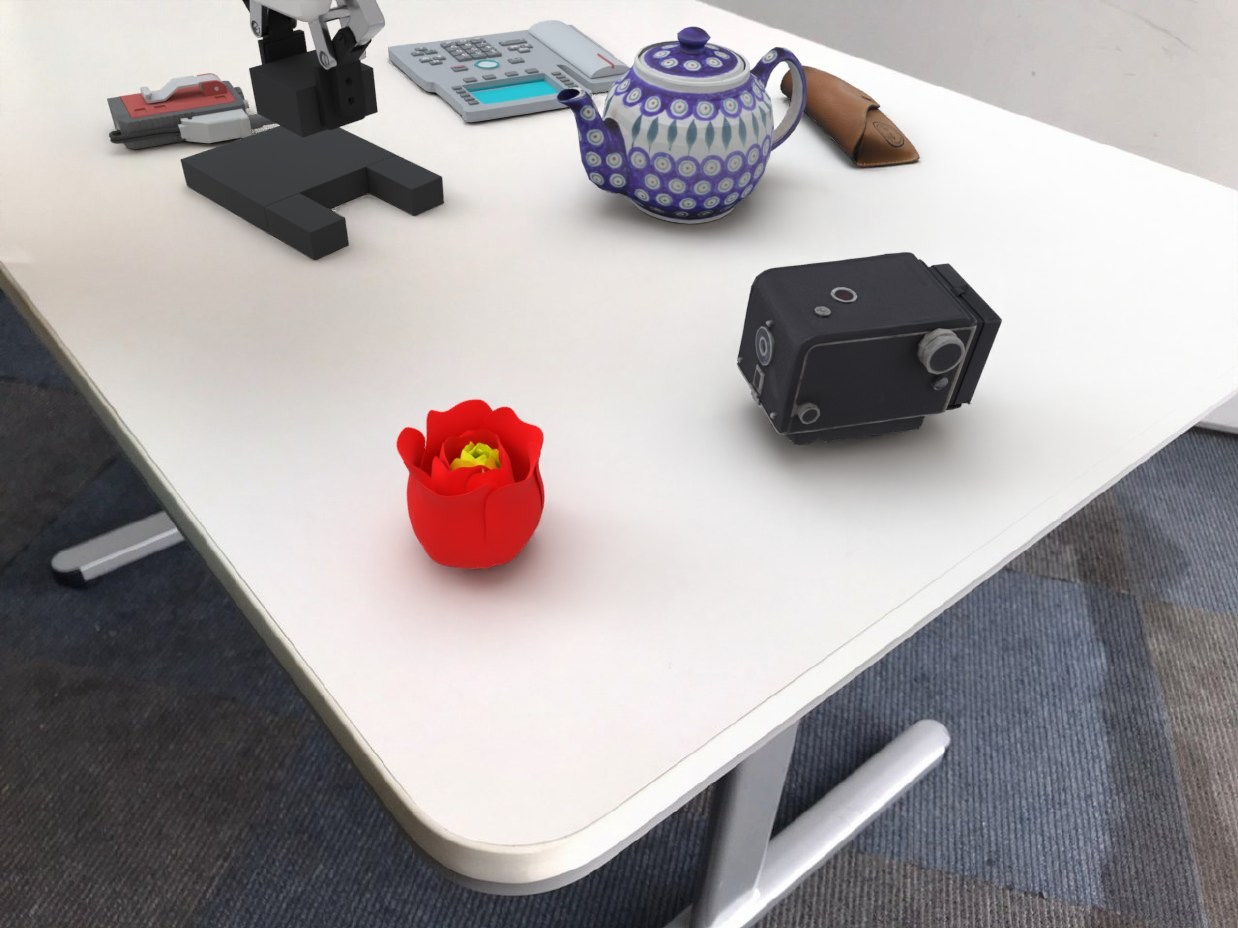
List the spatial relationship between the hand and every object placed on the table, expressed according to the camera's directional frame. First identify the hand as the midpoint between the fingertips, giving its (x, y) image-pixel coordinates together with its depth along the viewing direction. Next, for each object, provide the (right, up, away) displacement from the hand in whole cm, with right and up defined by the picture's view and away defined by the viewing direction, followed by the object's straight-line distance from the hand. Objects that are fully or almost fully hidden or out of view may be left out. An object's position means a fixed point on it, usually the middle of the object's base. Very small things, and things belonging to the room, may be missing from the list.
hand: (316, 106), depth 67 cm
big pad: (-7, 0, +23) cm, 24 cm away
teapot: (+25, +1, +26) cm, 37 cm away
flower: (+12, -28, -8) cm, 32 cm away
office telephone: (+9, +19, +46) cm, 50 cm away
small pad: (0, 0, 0) cm, 0 cm away
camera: (+35, -21, +3) cm, 41 cm away
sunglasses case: (+44, +11, +40) cm, 60 cm away
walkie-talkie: (-19, +9, +32) cm, 38 cm away
